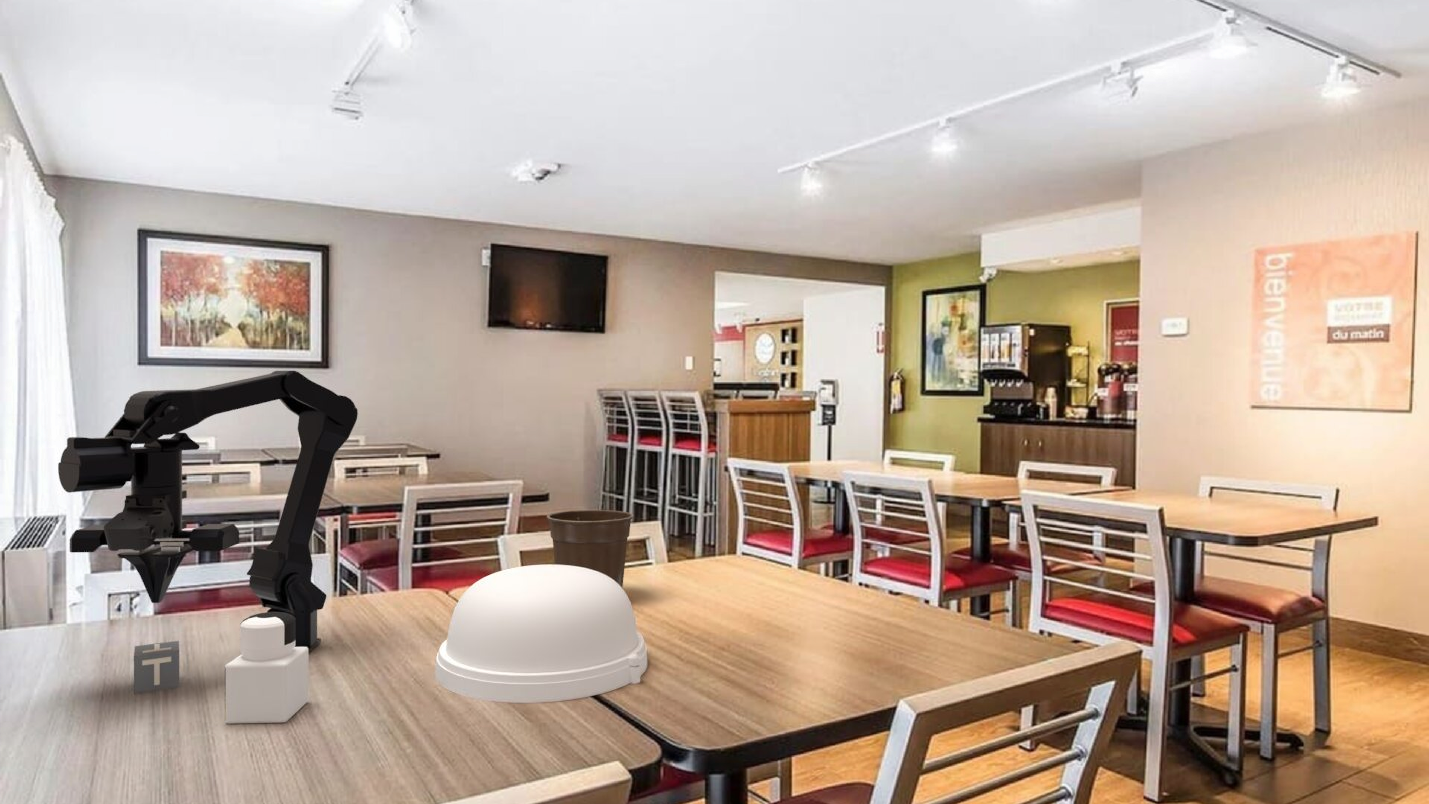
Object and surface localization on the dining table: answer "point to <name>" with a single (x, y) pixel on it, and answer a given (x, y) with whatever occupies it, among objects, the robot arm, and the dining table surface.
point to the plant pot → (591, 540)
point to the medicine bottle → (266, 672)
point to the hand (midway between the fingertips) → (157, 602)
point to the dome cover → (541, 637)
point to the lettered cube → (156, 667)
